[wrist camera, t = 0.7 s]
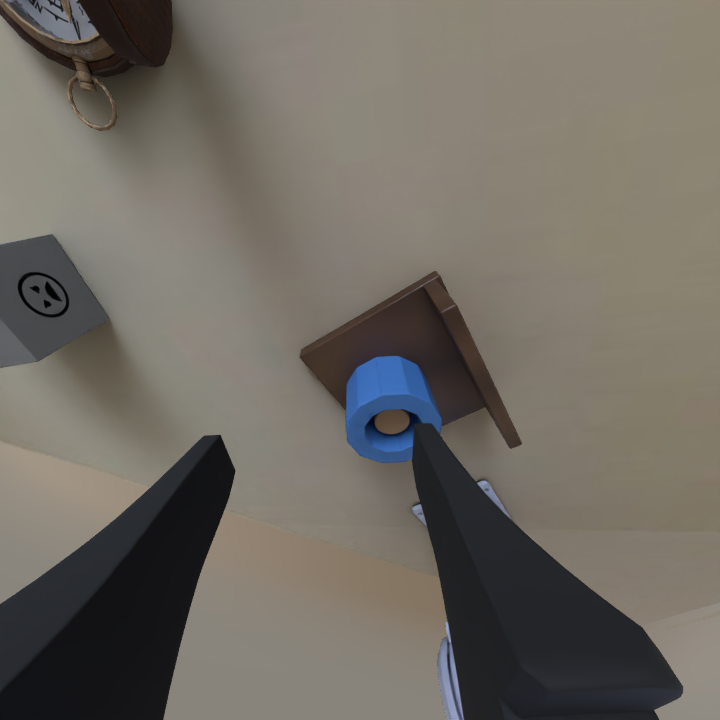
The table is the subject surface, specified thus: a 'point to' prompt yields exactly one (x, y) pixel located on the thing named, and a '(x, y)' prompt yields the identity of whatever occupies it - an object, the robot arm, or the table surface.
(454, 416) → the holder
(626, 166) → the table surface
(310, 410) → the table surface
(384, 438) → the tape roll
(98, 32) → the compass
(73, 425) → the table surface
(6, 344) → the dice cube
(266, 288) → the table surface
